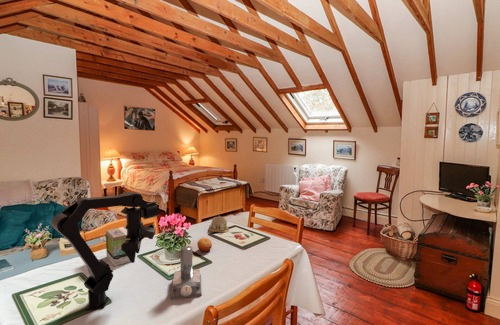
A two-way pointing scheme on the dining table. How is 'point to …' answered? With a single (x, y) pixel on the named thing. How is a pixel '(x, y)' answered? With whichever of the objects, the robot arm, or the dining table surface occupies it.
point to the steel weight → (186, 262)
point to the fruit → (204, 244)
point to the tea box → (116, 245)
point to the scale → (186, 290)
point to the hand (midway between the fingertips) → (135, 257)
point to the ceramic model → (218, 225)
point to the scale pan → (194, 279)
